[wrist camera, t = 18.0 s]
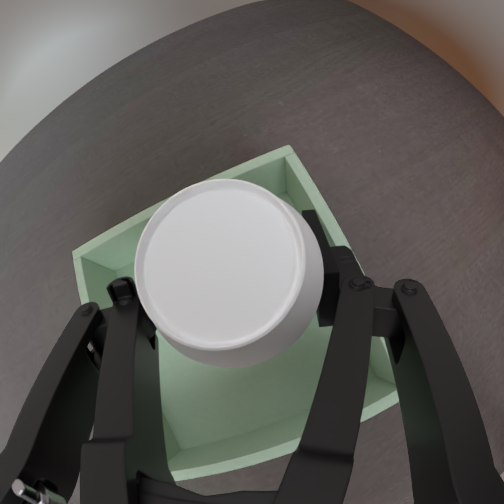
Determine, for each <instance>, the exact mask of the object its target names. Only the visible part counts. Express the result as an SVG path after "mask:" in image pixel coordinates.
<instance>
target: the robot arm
mask: <svg viewBox="0 0 504 504" xmlns="http://www.w3.org/2000/svg"><path fill="white" fill-rule="evenodd" d="M302 217H303V218H304V220H305V221H306V222H307V223H308V225H309V226H310V228H311V230H312V231H313V233H314V235H315V237H316V239H317V242H318V244H319V247H320V251H321V255H322V260H323V268H324V281H323V290H322V295H321V299H320V302H319V305H318V308H317V310H316V314H317V319H318V324H319V327H327V326H333V327H332V331H331V335H330V340H329V344H328V348H327V352H326V356H325V360H324V364H323V367H322V371H321V375H320V378H319V382H318V385H317V389H316V392H315V396H314V399H313V402H312V406H311V409H310V412H309V415H308V418H307V422H306V425H305V428H304V431H303V434H302V437H301V439H300V442H299V445H298V447H297V449H296V450H295V451H294V453H293V455H292V457H291V459H290V462H289V464H288V467H287V469H286V472H285V474H284V477H283V479H282V482H281V484H280V487H279V489H278V491H239V492H232V493H226V494H219V495H211V496H203V495H200V494H197V493H194V492H192V491H189V490H186V489H184V488H181V487H179V486H177V485H176V483H175V481H174V478H173V476H172V474H171V472H170V470H169V467H168V462H167V454H166V446H165V437H164V428H163V417H162V405H161V391H160V372H159V340H158V337H157V334H156V330H157V328H156V326H155V325H154V323H153V322H152V320H151V319H150V318H149V316H148V315H147V313H146V311H145V310H144V308H143V306H142V304H141V301H140V299H139V296H138V293H137V289H136V284H135V283H134V280H133V278H131V277H128V276H125V277H120V278H117V279H115V280H113V281H112V282H111V283H109V284H108V286H107V287H106V289H107V291H108V293H109V296H110V298H111V300H112V302H113V306H112V307H109V308H105V309H100V307H99V305H98V304H97V303H96V302H88V303H85V304H83V305H82V306H80V307H79V308H78V309H77V310H76V312H75V313H74V315H73V316H72V318H71V320H70V321H69V323H68V324H67V326H66V328H65V329H64V331H63V333H62V334H61V336H60V337H59V339H58V341H57V343H56V344H55V346H54V348H53V349H52V351H51V353H50V355H49V356H48V358H47V360H46V362H45V364H44V366H43V367H42V369H41V371H40V373H39V375H38V377H37V379H36V381H35V383H34V385H33V387H32V389H31V391H30V393H29V395H28V397H27V399H26V401H25V403H24V405H23V407H22V409H21V412H20V414H19V416H18V418H17V421H16V423H15V425H14V428H13V430H12V433H11V435H10V438H9V440H8V443H7V445H6V447H5V449H4V450H3V451H2V453H1V454H0V504H67V503H68V501H69V500H70V498H71V496H72V493H73V491H74V489H75V486H76V483H77V480H78V476H79V472H80V504H343V501H344V497H345V494H346V491H347V487H348V484H349V480H350V476H351V472H352V468H353V462H354V458H353V456H354V451H355V446H356V441H357V437H358V432H359V427H360V421H361V416H362V410H363V404H364V398H365V392H366V385H367V377H368V369H369V361H370V351H371V340H372V336H375V337H384V340H385V344H386V347H387V351H388V355H389V359H390V363H391V367H392V371H393V375H394V379H395V384H396V388H397V393H398V398H399V402H400V407H401V412H402V418H403V423H404V429H405V435H406V441H407V447H408V454H409V462H410V470H411V479H412V489H413V497H414V504H504V482H503V480H502V478H501V477H500V475H499V473H498V472H497V470H496V469H495V467H494V463H493V458H492V454H491V450H490V446H489V442H488V438H487V435H486V431H485V428H484V424H483V421H482V418H481V415H480V411H479V408H478V405H477V403H476V400H475V397H474V394H473V391H472V389H471V386H470V383H469V381H468V378H467V376H466V373H465V371H464V368H463V366H462V363H461V361H460V359H459V356H458V354H457V352H456V349H455V347H454V345H453V343H452V341H451V338H450V336H449V334H448V332H447V330H446V328H445V326H444V324H443V322H442V320H441V318H440V316H439V314H438V312H437V310H436V308H435V306H434V304H433V302H432V300H431V299H430V297H429V295H428V293H427V291H426V289H425V288H424V286H423V285H422V284H421V283H419V282H418V281H415V280H412V279H402V280H399V281H397V282H396V283H395V285H394V288H393V289H390V288H382V287H377V286H375V285H374V282H373V281H372V280H371V279H370V278H368V277H366V276H364V274H363V272H362V270H361V268H360V266H359V264H358V262H357V260H356V258H355V256H354V254H353V252H352V250H351V249H350V248H348V247H347V246H345V245H343V246H332V247H330V246H329V243H328V240H327V238H326V235H325V233H324V231H323V228H322V226H321V223H320V221H319V218H318V216H317V214H316V211H315V209H313V210H302ZM89 342H90V344H91V345H92V347H93V349H92V351H91V352H90V351H89V349H88V348H87V346H88V344H89ZM93 424H94V432H93V438H92V439H91V440H89V437H90V434H91V430H92V427H93ZM88 440H89V441H88Z"/></svg>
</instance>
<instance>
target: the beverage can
mask: <svg viewBox="0 0 504 504" xmlns="http://www.w3.org/2000/svg"><path fill="white" fill-rule="evenodd" d="M134 276H135V284H136V289H137V293H138V296H139V299H140V301H141V304H142V306H143V308H144V310H145V311H146V313H147V315H148V316H149V318H150V319H151V320H152V322H153V323H154V325H155V326H156V328H157V329H158V331H159V332H160V334H161V335H162V336H163V337H164V339H165V340H166V341H167V342H168V343H169V344H170V345H171V346H172V347H174V348H175V349H176V350H177V351H179V352H180V353H181V354H183V355H185V356H186V357H188V358H190V359H192V360H194V361H197V362H199V363H202V364H205V365H209V366H213V367H220V368H241V367H247V366H252V365H256V364H259V363H262V362H264V361H267V360H269V359H271V358H273V357H275V356H277V355H278V354H280V353H282V352H283V351H285V350H286V349H287V348H288V347H290V346H291V345H292V344H293V343H294V342H295V341H296V340H297V339H298V338H299V337H300V336H301V335H302V334H303V332H304V331H305V330H306V328H307V327H308V325H309V324H310V322H311V321H312V319H313V317H314V315H315V313H316V310H317V308H318V305H319V302H320V299H321V295H322V290H323V281H324V268H323V260H322V255H321V251H320V247H319V244H318V242H317V239H316V237H315V235H314V233H313V231H312V230H311V228H310V226H309V225H308V223H307V222H306V221H305V220H304V218H303V217H302V216H301V215H300V214H299V213H298V212H297V211H296V210H295V209H294V208H293V207H291V206H290V205H289V204H287V203H286V202H285V201H283V200H281V199H280V198H278V197H276V196H275V195H274V194H272V193H271V192H269V191H268V190H266V189H264V188H263V187H260V186H258V185H256V184H253V183H250V182H247V181H243V180H237V179H213V180H207V181H203V182H200V183H197V184H194V185H191V186H189V187H187V188H185V189H183V190H181V191H179V192H178V193H176V194H175V195H173V196H172V197H170V198H169V199H168V200H167V201H166V202H165V203H163V204H162V205H161V206H160V207H159V208H158V210H157V211H156V212H155V213H154V214H153V216H152V217H151V218H150V220H149V222H148V223H147V225H146V227H145V228H144V230H143V233H142V235H141V237H140V240H139V243H138V246H137V250H136V255H135V264H134Z"/></svg>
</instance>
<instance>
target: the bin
mask: <svg viewBox="0 0 504 504" xmlns="http://www.w3.org/2000/svg"><path fill="white" fill-rule="evenodd" d="M213 179H237V180H243V181H247V182H250V183H253V184H256V185H258V186H260V187H263V188H264V189H266V190H268V191H269V192H271V193H272V194H274V195H275V196H276V197H278V198H280V199H281V200H283V201H285V202H286V203H287V204H289V205H290V206H291V207H293V208H294V209H295V210H296V211H297V212H298V213H299V214H300V215H301V216H302V210H313V209H315V211H316V214H317V216H318V218H319V221H320V223H321V226H322V228H323V231H324V233H325V235H326V238H327V240H328V243H329V246H330V247H332V246H343V245H345V246H347V247H348V248H350V249H351V247H350V245H349V243H348V241H347V240H346V238H345V236H344V234H343V232H342V230H341V229H340V227H339V225H338V223H337V221H336V220H335V218H334V216H333V214H332V213H331V211H330V209H329V207H328V206H327V204H326V202H325V201H324V199H323V197H322V195H321V194H320V192H319V190H318V189H317V187H316V185H315V184H314V182H313V181H312V179H311V177H310V176H309V174H308V172H307V171H306V169H305V168H304V166H303V164H302V163H301V161H300V160H299V158H298V157H297V155H296V154H295V153H294V151H293V149H292V148H291V146H290V145H287V146H284V147H281V148H279V149H276V150H274V151H271V152H269V153H266V154H264V155H261V156H259V157H256V158H254V159H252V160H249V161H247V162H244V163H242V164H240V165H237V166H235V167H233V168H231V169H228V170H226V171H224V172H222V173H219V174H217V175H215V176H213V177H211V178H208V179H206V180H204V181H207V180H213ZM202 182H203V181H202ZM171 197H172V196H171ZM169 198H170V197H169ZM169 198H167V199H165V200H163V201H161V202H159V203H157V204H155V205H153V206H151V207H149V208H147V209H146V210H144V211H142V212H140V213H138V214H136V215H134V216H132V217H131V218H129V219H127V220H125V221H123V222H122V223H120V224H118V225H116V226H114V227H113V228H111V229H109V230H107V231H106V232H104V233H102V234H101V235H99V236H97V237H95V238H94V239H92V240H90V241H89V242H87V243H85V244H84V245H82V246H80V247H79V248H77V249H76V250H74V251H73V252H72V254H73V260H74V267H75V273H76V279H77V284H78V290H79V294H80V299H81V304H82V305H83V304H85V303H88V302H96V303H97V304H98V305H99V307H100V309H105V308H109V307H112V306H113V302H112V300H111V298H110V296H109V293H108V291H107V289H106V287H107V286H108V284H109V283H111V282H112V281H113V280H115V279H117V278H120V277H125V276H128V277H131V278H133V280H134V283H135V276H134V264H135V255H136V250H137V246H138V243H139V240H140V237H141V235H142V233H143V230H144V228H145V227H146V225H147V223H148V222H149V220H150V218H151V217H152V216H153V214H154V213H155V212H156V211H157V210H158V208H159V207H160V206H161V205H162V204H163V203H165V202H166V201H167V200H168V199H169ZM351 250H352V249H351ZM352 252H353V251H352ZM353 254H354V253H353ZM354 256H355V255H354ZM355 258H356V257H355ZM356 260H357V258H356ZM357 262H358V260H357ZM358 264H359V262H358ZM359 266H360V264H359ZM360 268H361V266H360ZM361 270H362V268H361ZM362 272H363V270H362ZM363 274H364V272H363ZM364 276H365V274H364ZM332 327H333V326H327V327H319V324H318V319H317V314H316V313H315V315H314V317H313V319H312V321H311V322H310V324H309V325H308V327H307V328H306V330H305V331H304V332H303V334H302V335H301V336H300V337H299V338H298V339H297V340H296V341H295V342H294V343H293V344H292V345H291V346H290V347H288V348H287V349H286V350H285V351H283V352H282V353H280V354H278V355H277V356H275V357H273V358H271V359H269V360H267V361H264V362H262V363H259V364H256V365H252V366H247V367H241V368H220V367H213V366H209V365H205V364H202V363H199V362H197V361H194V360H192V359H190V358H188V357H186V356H185V355H183V354H181V353H180V352H179V351H177V350H176V349H175V348H174V347H172V346H171V345H170V344H169V343H168V342H167V341H166V340H165V339H164V337H163V336H162V335H161V334H160V332H159V331H158V329H157V330H156V334H157V337H158V340H159V372H160V391H161V405H162V417H163V428H164V437H165V446H166V454H167V462H168V467H169V470H170V472H171V474H172V476H173V478H174V481H179V480H185V479H192V478H198V477H203V476H208V475H213V474H218V473H223V472H227V471H231V470H235V469H239V468H243V467H247V466H251V465H254V464H258V463H261V462H264V461H268V460H271V459H274V458H277V457H280V456H283V455H286V454H289V453H292V452H294V451H295V450H296V449H297V447H298V445H299V442H300V439H301V437H302V434H303V431H304V428H305V425H306V422H307V418H308V415H309V412H310V409H311V406H312V402H313V399H314V396H315V392H316V389H317V385H318V382H319V378H320V375H321V371H322V367H323V364H324V360H325V356H326V352H327V348H328V344H329V340H330V335H331V331H332ZM397 402H399V398H398V393H397V388H396V384H395V379H394V375H393V371H392V367H391V363H390V359H389V355H388V351H387V347H386V344H385V340H384V337H375V336H372V340H371V351H370V361H369V369H368V377H367V385H366V392H365V398H364V404H363V410H362V416H361V421H360V423H361V422H363V421H365V420H367V419H369V418H371V417H373V416H374V415H376V414H378V413H380V412H382V411H383V410H385V409H387V408H389V407H390V406H392V405H394V404H396V403H397Z"/></svg>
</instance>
